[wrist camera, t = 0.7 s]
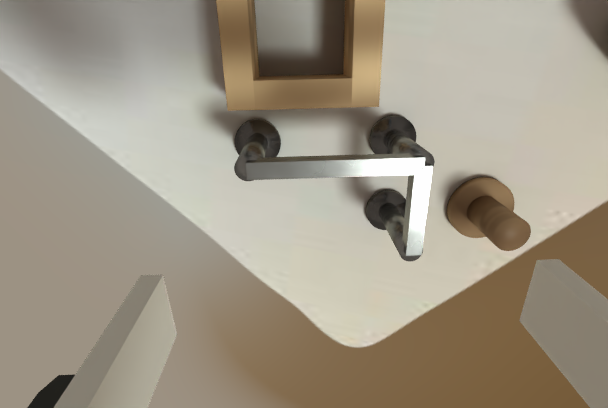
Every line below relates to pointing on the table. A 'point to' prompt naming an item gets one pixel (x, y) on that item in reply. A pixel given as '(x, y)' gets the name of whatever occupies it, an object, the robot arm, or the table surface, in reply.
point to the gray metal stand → (354, 173)
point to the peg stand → (487, 213)
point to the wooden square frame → (302, 88)
